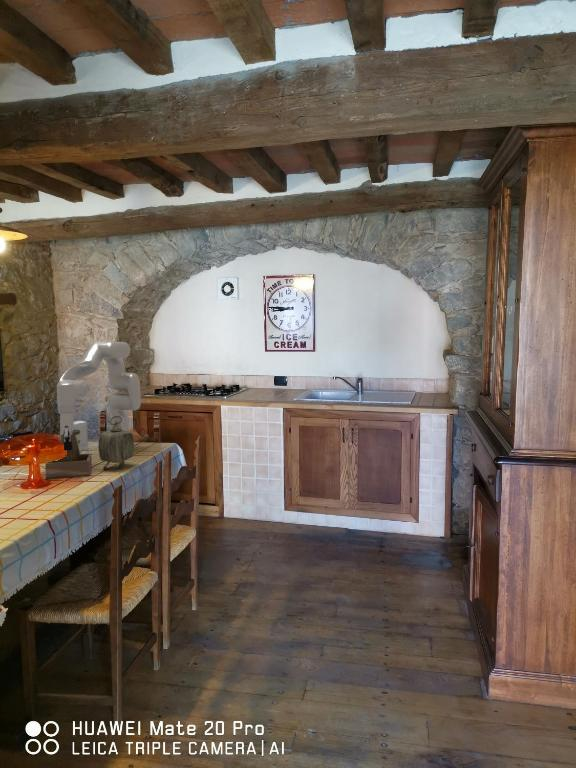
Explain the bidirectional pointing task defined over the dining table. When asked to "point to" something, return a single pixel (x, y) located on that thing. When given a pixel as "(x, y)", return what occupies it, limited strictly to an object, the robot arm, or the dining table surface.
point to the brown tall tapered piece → (71, 454)
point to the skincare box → (82, 433)
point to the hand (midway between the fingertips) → (69, 448)
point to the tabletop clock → (116, 445)
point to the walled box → (69, 468)
